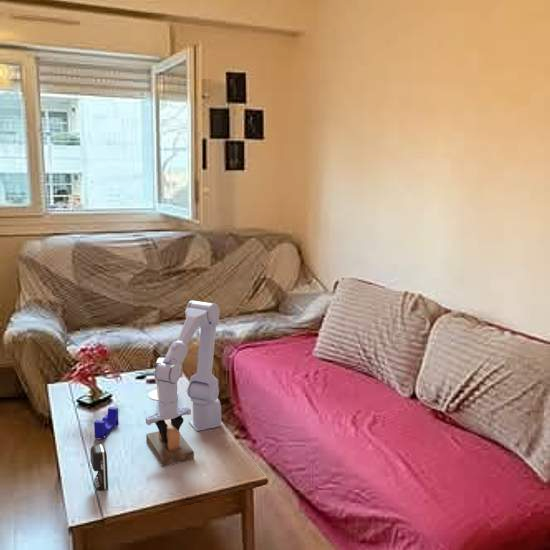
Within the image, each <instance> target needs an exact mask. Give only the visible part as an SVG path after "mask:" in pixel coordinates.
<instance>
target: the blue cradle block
mask: <svg viewBox="0 0 550 550" xmlns="http://www.w3.org/2000/svg"><path fill="white" fill-rule="evenodd" d="M118 424H119V408H118V407H115V406H114V407H112V406H109V407H108V408H107V414H105V415H104V416H103V417H102V419H101V420H99V419H96V420H95V421H94V422H93V427H94V439H95V438H100V439H99V440H104V439H105V438H106V437H107V436H108V435H109V434H110V433H111V432H112V431H113V430H114V429H115V428H116V427H117V425H118ZM115 426H116V427H115ZM114 427H115V428H114ZM104 436H105V437H104Z"/></svg>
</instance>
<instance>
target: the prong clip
mask: <svg viewBox="0 0 550 550" xmlns="http://www.w3.org/2000/svg"><path fill="white" fill-rule="evenodd" d="M164 421H165V423H166V424H167V425H168V426H167V433H166V435H167V439H168V447H167V449H168V450H169V451H174V450H178V449H179V440H180V434H181V431H180V430H179V431H178V430H177V429H176V427H175V426H174V425H173V424H172V423H171V420H170V419H168V420H164ZM159 439H160V440H162V438H161V435H160V432H159Z"/></svg>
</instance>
